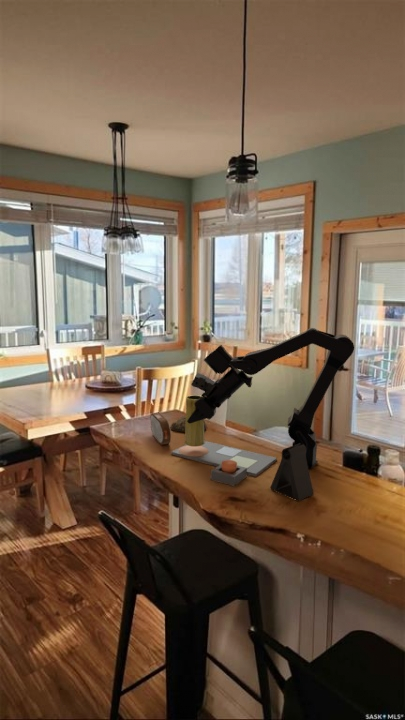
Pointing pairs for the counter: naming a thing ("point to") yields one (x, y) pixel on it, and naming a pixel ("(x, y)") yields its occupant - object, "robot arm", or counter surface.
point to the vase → (193, 424)
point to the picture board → (226, 456)
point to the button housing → (228, 475)
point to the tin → (160, 428)
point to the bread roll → (181, 424)
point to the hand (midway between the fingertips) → (190, 419)
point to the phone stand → (293, 474)
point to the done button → (229, 466)
